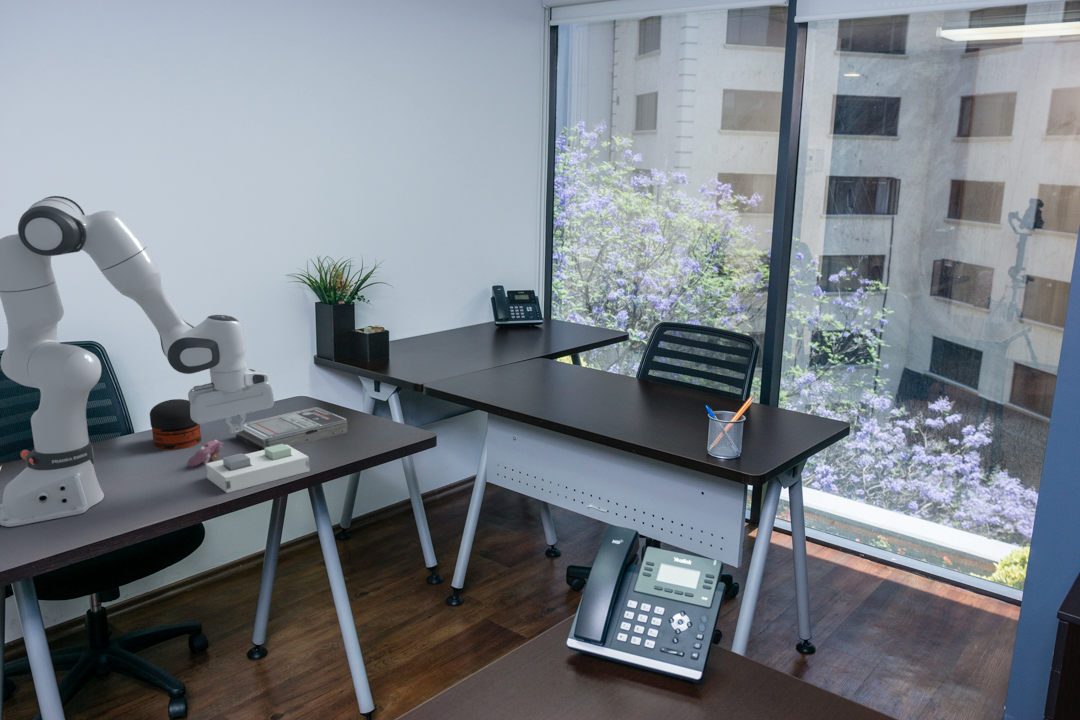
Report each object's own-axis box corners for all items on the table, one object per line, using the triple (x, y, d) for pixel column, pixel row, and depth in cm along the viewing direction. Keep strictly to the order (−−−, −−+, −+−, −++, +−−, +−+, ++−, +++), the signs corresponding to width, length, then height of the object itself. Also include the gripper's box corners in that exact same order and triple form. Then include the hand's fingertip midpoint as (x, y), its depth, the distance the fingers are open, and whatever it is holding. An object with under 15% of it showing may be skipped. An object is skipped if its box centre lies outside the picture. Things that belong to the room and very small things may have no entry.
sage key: (273, 463, 210) (272, 452, 209) (265, 458, 213) (264, 447, 213) (291, 459, 213) (290, 448, 212) (283, 454, 217) (282, 443, 216)
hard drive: (236, 439, 239) (234, 425, 238) (318, 420, 257) (317, 406, 256) (264, 454, 226) (263, 439, 225) (349, 433, 244) (348, 419, 243)
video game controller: (199, 473, 215) (208, 452, 213) (185, 465, 215) (193, 444, 213) (221, 460, 225) (229, 440, 222) (207, 452, 225) (215, 432, 223)
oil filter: (144, 443, 234) (167, 453, 226) (140, 403, 231) (162, 411, 223) (187, 432, 244) (210, 441, 236) (183, 393, 241) (206, 401, 233)
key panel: (227, 493, 199) (225, 477, 198) (207, 478, 208) (205, 463, 207) (309, 471, 213) (308, 456, 212) (287, 458, 222) (286, 444, 221)
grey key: (231, 474, 203) (230, 462, 202) (223, 468, 206) (222, 457, 206) (250, 469, 206) (250, 458, 205) (243, 464, 210) (242, 453, 209)
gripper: (191, 390, 191) (198, 445, 195) (274, 374, 205) (279, 425, 208) (182, 384, 196) (189, 438, 200) (263, 369, 209) (268, 419, 213)
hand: (236, 431), depth 204 cm, fingers closed
